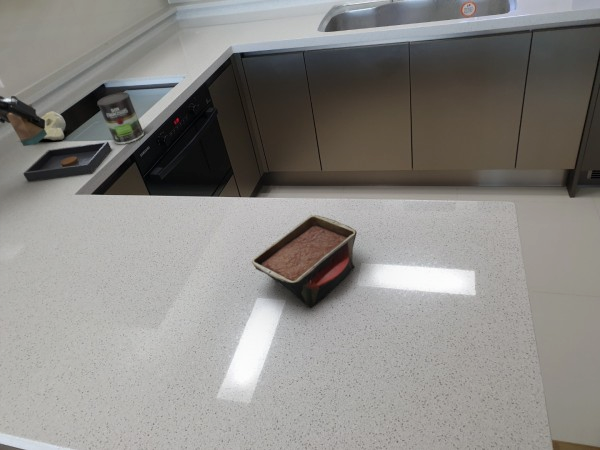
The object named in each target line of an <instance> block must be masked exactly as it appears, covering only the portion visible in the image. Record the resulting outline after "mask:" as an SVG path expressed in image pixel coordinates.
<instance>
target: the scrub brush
mask: <svg viewBox="0 0 600 450" xmlns="http://www.w3.org/2000/svg"><path fill="white" fill-rule="evenodd" d="M27 105H29V106H30V107H32V108H34V107H33V105H32V104H31V103H29V104H27ZM36 115H37V116H38V114H37V113H36ZM6 116H7V118H8V119H9V121H10V123H9V124H11V126H12V128H13V130H14V131H15V133H16V135H17V137H18V139H19V140H20V142H21V144H22V145H23V147H27V146H34V145H37V144H38V143H39V142H41V141H42V140H43V139H42V138H44V137H45V136H46V135H47V133H46V131H45V129H42V128H40V127H38V126H36V125H34V124H32V123H30V122H28V121H27V119H25V118H23V117H20V116H17V115H14V114H12V113H9V114H7V115H6ZM41 139H42V140H41Z"/></svg>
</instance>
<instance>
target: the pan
mask: <svg viewBox="0 0 600 450" xmlns="http://www.w3.org/2000/svg"><path fill="white" fill-rule="evenodd" d="M112 150H113V149H112V148H111V145H110V143H109V141H102V142H96V143H88V144H82V145H81V144H80V145H73V146H67V147H59V148H52V149H48V150H46V151H45V152H44V153H43V154H42V155H41V156H40V157H39V158H38V159H37V160H36V161H35V162H34V163H32V165H30V166H29V168H27V169H26V170H24V172H23V173H22V175H23V176H24V178H25V179H26V180H27V182H37V181H45V180H53V179H59V178H61V179H62V178H67V177H68V178H69V177H75V176H84V175H91V174H93V173H94V172H95V170H96V169H97V168H98V167H99V166H100V165H101V163H102V162H103V161H104V159H105V158H107V156H108V155H109V154H110V153H111V152H112ZM69 157H77V159H78V162H77V163H75V164H74V165H72V166H68V167H63V166H62V165H61V161H63V160H64V159H66V158H69Z"/></svg>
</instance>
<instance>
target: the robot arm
mask: <svg viewBox="0 0 600 450" xmlns="http://www.w3.org/2000/svg"><path fill="white" fill-rule="evenodd" d="M32 107H33V106H32ZM32 107H30V106H29V105H28V104H27V103H25V102H23V101H22V100H20V99H18V98H17V96H15V95H11V96H10V98H5V96H2V95H0V123H1V124H5V123H9V124H11V123H10V121H9V119H8V118H7V116H6V115H7V114H9V113H12V114H14V115H17V116H20V117H23V118H25V119H27V121H28V122H30V123H32V124H34V125H36V126H38V127H40V128H42V129H44V128H45V120H44V119H42V118H41V117H40V116H39V115H38V114H37V110H36V108H34V107H33V108H32ZM36 114H37V115H36Z"/></svg>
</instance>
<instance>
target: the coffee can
mask: <svg viewBox="0 0 600 450" xmlns="http://www.w3.org/2000/svg"><path fill="white" fill-rule="evenodd" d="M96 103H97V106H98V107H99V110H100V112H101V114H102V116H103V119H104V121H105V123H106V126H107V128H108V130H109V132H110V135H111V137H112V139H113V142H114V143H115V144H117V145H127V144H130V143H134V142H136V141H138V140H140V139H142V137H144V134H145V132H144V130H143V127H142V125H141V122H140V119H139V117H138V115H137V111H136V110H135V108H134V104H133V102H132V100H131V97H130V94H129V93H128V92H115V93H112V94H108V95H106V96H103V97H102V98H100V99H99V100H98V101H97V102H96Z"/></svg>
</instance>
